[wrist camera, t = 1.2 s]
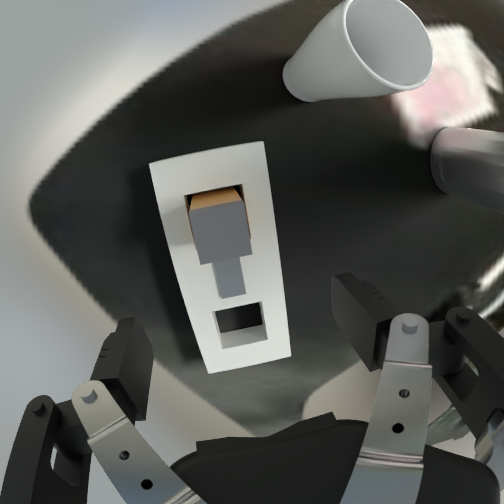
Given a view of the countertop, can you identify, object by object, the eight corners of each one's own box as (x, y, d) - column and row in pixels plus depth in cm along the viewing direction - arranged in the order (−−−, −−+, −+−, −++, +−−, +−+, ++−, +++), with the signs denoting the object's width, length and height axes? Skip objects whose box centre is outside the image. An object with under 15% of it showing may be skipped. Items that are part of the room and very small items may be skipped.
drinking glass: (338, 111, 27) (439, 101, 13) (274, 108, 26) (344, 80, 12) (335, 53, 24) (427, 8, 10) (272, 46, 23) (333, -24, 10)
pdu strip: (257, 141, 27) (264, 141, 24) (284, 340, 36) (291, 357, 33) (154, 161, 26) (148, 164, 23) (207, 357, 35) (208, 375, 32)
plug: (233, 186, 28) (243, 203, 21) (239, 225, 30) (252, 254, 22) (192, 194, 28) (188, 214, 20) (201, 232, 29) (200, 264, 22)
